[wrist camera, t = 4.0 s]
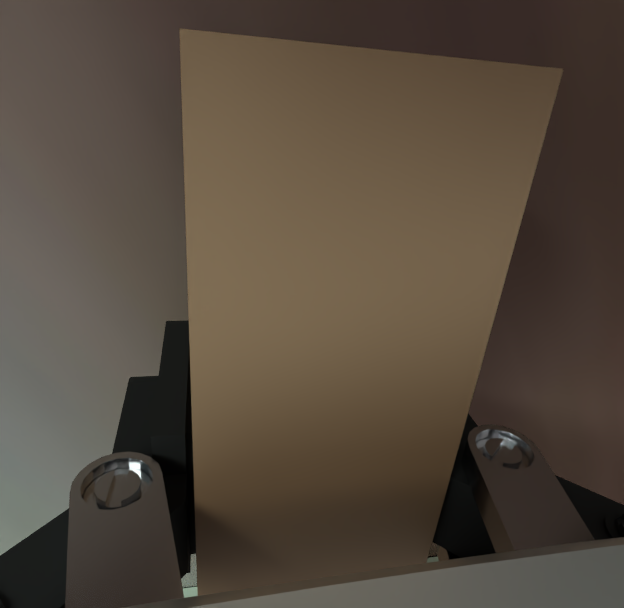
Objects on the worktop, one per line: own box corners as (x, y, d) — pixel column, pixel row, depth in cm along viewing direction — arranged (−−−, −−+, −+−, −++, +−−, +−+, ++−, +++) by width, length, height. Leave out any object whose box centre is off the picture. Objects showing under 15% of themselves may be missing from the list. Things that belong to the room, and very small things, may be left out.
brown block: (190, 44, 9) (178, 28, 4) (398, 65, 10) (564, 68, 5) (202, 539, 14) (202, 748, 10) (332, 524, 15) (385, 711, 11)
